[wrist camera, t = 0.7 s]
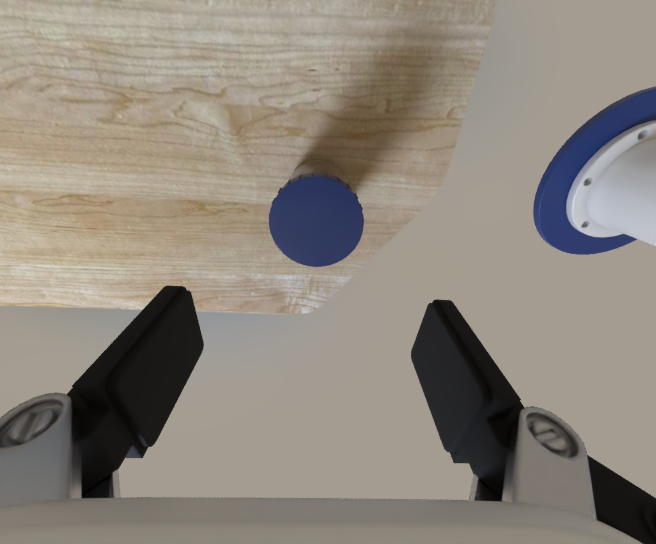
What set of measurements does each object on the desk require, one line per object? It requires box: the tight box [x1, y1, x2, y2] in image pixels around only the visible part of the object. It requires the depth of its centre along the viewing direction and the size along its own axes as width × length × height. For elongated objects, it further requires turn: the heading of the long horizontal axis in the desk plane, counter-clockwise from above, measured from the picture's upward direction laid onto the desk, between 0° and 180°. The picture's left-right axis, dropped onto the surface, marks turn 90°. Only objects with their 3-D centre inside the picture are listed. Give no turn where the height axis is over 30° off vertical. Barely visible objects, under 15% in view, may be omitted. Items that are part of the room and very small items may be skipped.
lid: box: [269, 171, 364, 267], centre depth 19 cm, size 7×7×2 cm
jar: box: [290, 159, 348, 184], centre depth 23 cm, size 6×6×9 cm
